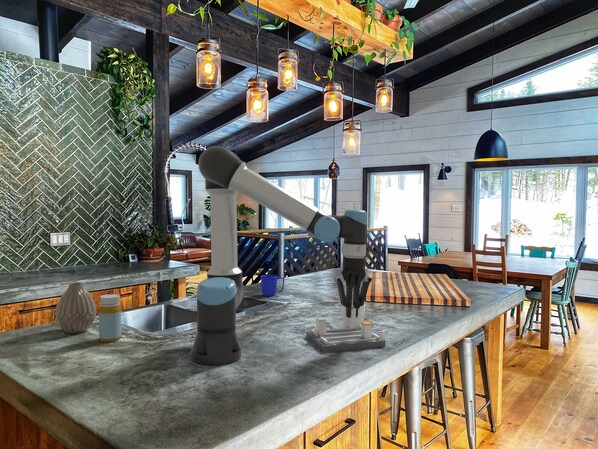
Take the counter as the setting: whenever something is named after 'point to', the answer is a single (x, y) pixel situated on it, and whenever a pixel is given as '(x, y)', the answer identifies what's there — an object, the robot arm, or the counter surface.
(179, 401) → the counter surface
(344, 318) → the cup
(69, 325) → the vase
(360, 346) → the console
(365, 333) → the fader
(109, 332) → the bottle
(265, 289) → the mug
